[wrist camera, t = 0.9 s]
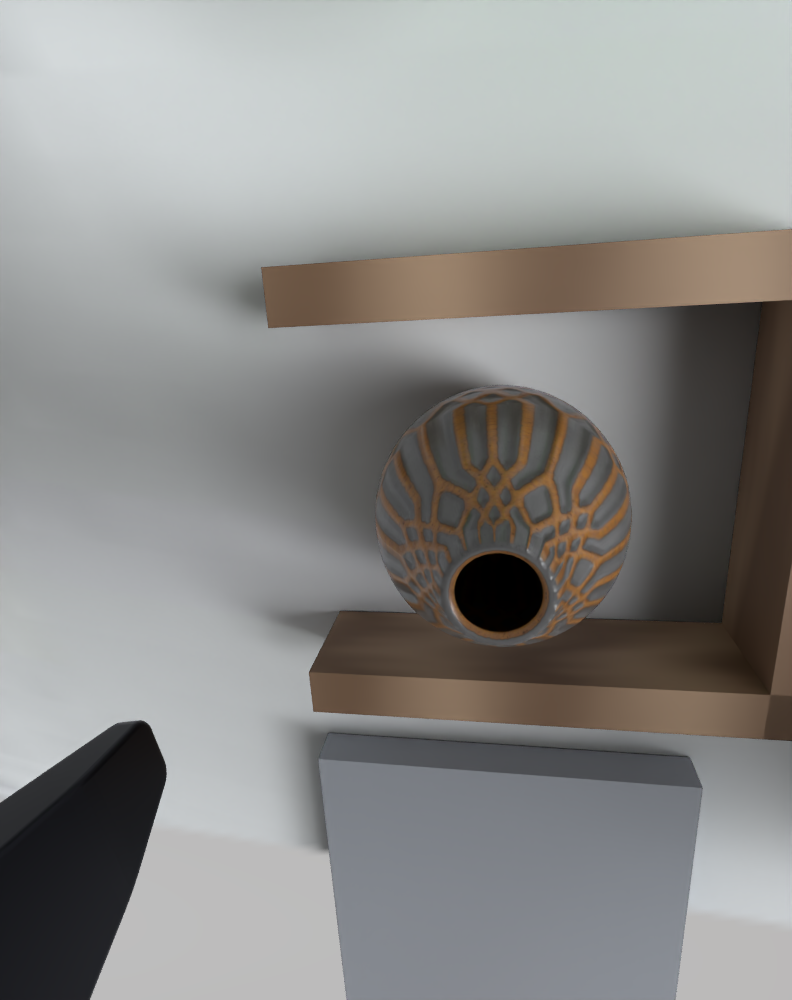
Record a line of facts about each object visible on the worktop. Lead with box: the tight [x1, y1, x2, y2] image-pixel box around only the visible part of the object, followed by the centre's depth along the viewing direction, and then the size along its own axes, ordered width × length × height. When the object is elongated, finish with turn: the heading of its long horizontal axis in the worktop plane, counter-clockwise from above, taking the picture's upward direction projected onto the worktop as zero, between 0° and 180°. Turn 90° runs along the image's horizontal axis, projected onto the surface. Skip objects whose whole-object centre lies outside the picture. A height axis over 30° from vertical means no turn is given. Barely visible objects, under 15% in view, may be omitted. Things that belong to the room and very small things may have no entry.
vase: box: [375, 385, 632, 647], centre depth 16 cm, size 7×7×9 cm
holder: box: [261, 229, 792, 741], centre depth 18 cm, size 15×14×4 cm
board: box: [318, 733, 703, 1000], centre depth 25 cm, size 14×14×2 cm
